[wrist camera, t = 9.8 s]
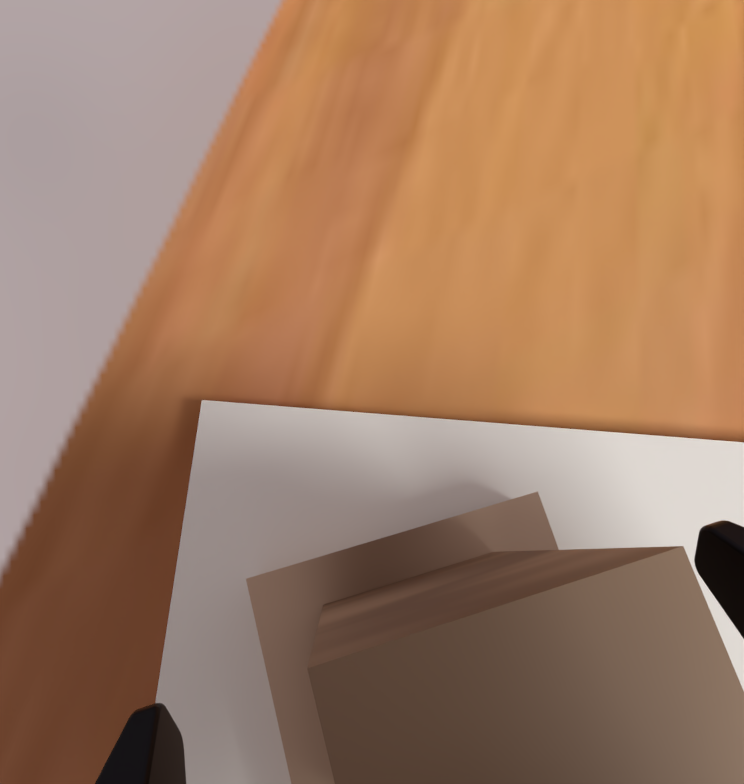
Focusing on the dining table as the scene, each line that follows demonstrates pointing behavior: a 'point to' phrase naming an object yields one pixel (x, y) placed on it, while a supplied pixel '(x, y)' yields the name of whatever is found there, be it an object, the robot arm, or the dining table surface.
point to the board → (389, 532)
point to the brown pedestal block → (498, 660)
